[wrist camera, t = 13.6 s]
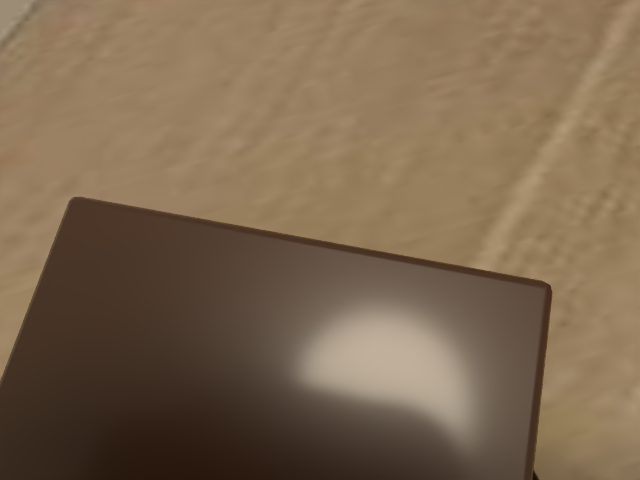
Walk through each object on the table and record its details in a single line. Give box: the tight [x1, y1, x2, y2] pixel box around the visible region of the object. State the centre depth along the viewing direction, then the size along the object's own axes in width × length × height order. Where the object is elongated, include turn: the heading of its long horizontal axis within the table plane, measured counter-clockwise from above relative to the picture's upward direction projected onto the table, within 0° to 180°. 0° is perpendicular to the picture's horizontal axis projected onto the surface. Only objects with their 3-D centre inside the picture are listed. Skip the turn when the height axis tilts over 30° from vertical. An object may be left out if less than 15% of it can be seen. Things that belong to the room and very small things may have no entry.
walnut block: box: [0, 197, 552, 480], centre depth 9 cm, size 4×4×12 cm
